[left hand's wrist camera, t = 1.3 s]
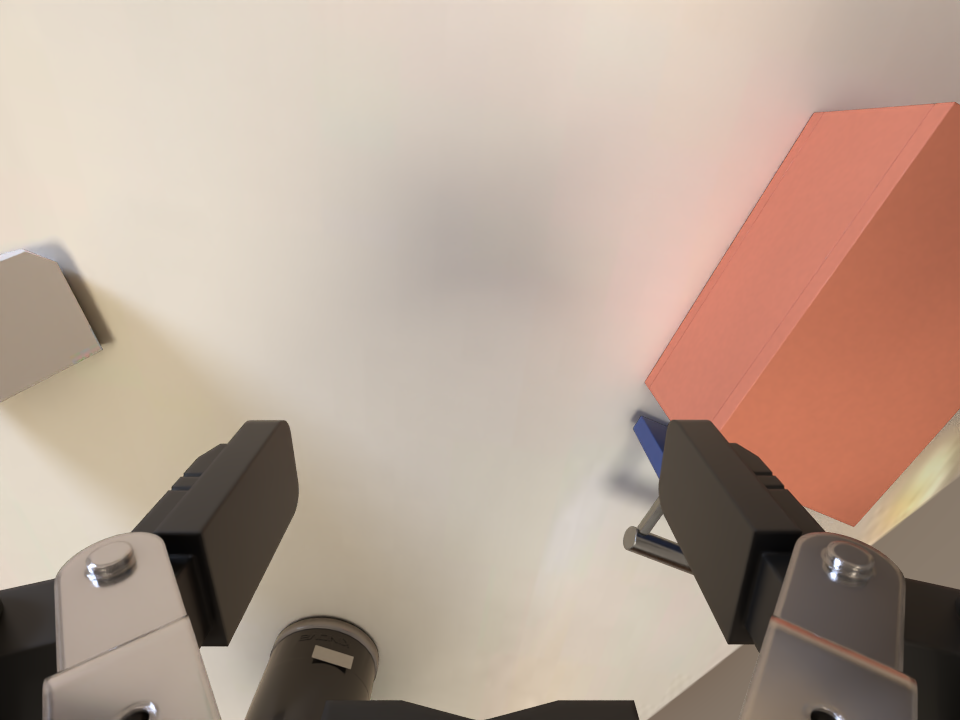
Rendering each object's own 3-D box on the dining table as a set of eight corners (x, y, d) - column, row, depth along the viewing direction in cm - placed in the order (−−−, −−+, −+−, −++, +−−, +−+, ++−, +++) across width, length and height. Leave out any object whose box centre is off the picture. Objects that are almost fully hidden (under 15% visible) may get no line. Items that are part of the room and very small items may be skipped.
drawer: (698, 528, 42) (746, 614, 34) (594, 487, 40) (620, 567, 33) (905, 255, 34) (1027, 289, 26) (784, 191, 32) (876, 208, 25)
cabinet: (766, 435, 40) (854, 527, 30) (644, 382, 38) (697, 462, 29) (952, 189, 33) (1138, 209, 24) (813, 112, 32) (954, 101, 22)
